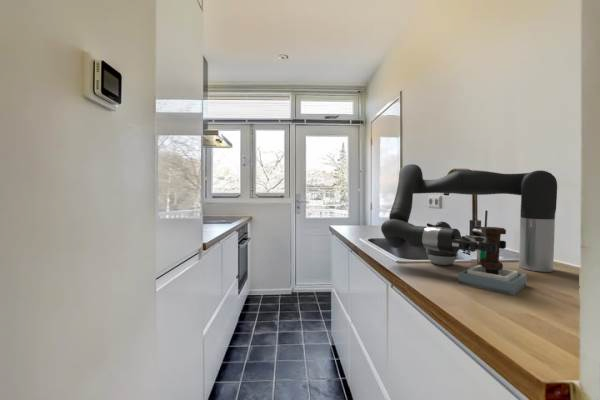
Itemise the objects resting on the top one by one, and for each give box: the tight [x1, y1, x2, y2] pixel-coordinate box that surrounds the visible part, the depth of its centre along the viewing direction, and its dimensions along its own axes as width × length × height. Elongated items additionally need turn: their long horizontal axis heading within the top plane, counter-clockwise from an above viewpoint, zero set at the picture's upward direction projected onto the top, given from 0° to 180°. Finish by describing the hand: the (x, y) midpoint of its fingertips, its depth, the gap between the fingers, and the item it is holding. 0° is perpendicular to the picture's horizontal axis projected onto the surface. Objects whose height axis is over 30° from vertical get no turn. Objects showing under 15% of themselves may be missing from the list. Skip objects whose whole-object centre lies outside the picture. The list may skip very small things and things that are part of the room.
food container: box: [476, 240, 487, 266], centre depth 101 cm, size 12×6×10 cm, turn 154°
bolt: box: [480, 226, 507, 275], centre depth 84 cm, size 6×5×15 cm
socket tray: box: [457, 265, 527, 296], centre depth 84 cm, size 13×13×4 cm
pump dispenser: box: [425, 221, 459, 266], centre depth 108 cm, size 10×10×15 cm
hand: (501, 246), depth 83 cm, fingers open, 8 cm apart
